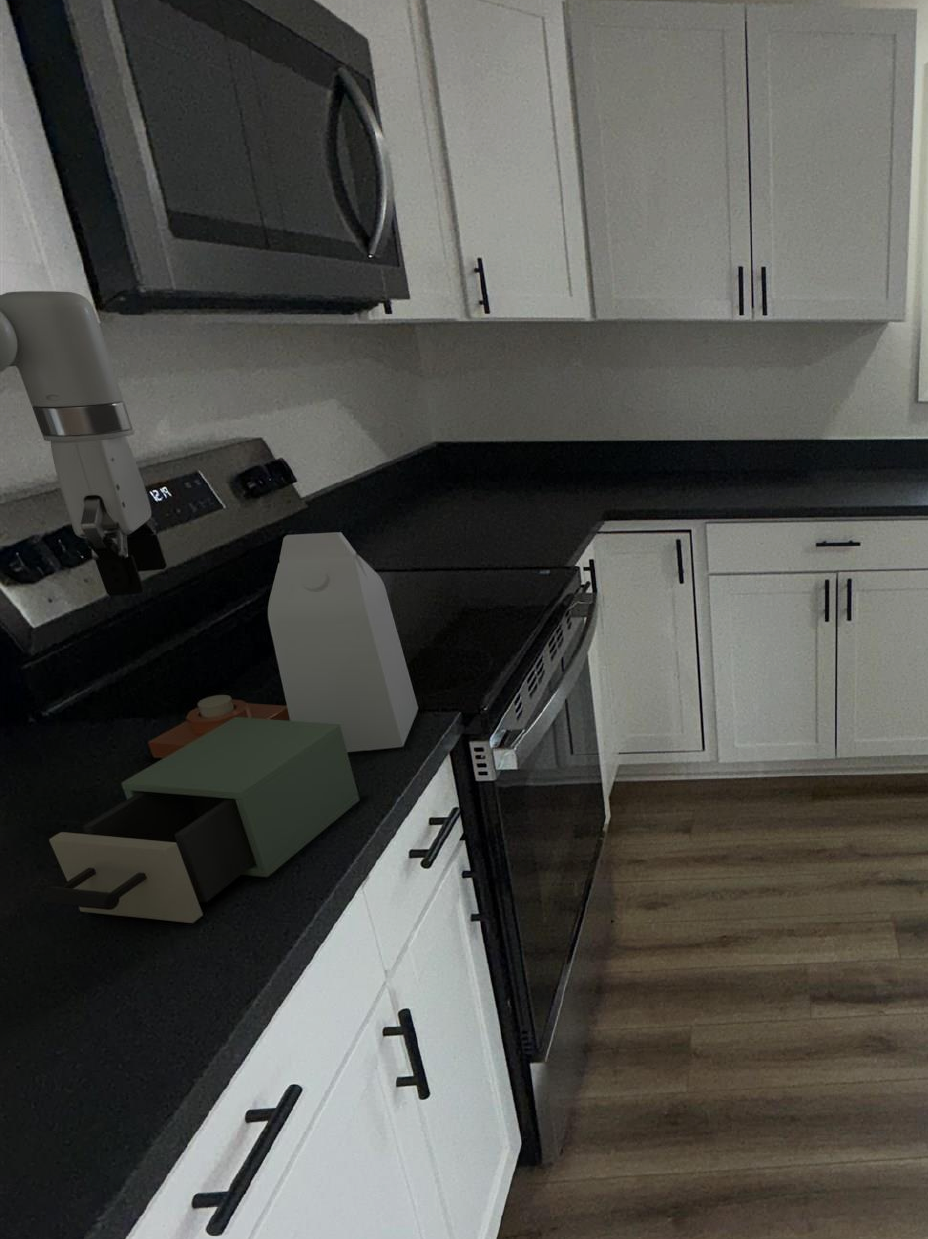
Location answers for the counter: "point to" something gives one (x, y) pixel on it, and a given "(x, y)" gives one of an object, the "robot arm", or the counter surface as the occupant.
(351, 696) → the milk
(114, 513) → the robot arm
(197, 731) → the control block
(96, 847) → the beige drawer
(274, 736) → the green drawer cabinet
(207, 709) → the button
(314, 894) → the counter surface
